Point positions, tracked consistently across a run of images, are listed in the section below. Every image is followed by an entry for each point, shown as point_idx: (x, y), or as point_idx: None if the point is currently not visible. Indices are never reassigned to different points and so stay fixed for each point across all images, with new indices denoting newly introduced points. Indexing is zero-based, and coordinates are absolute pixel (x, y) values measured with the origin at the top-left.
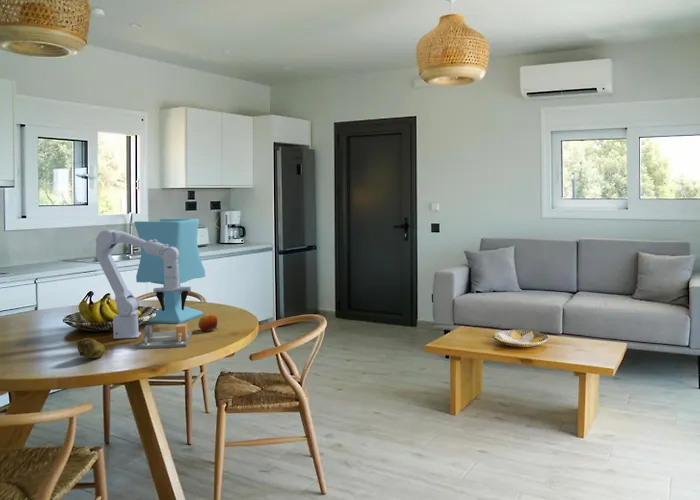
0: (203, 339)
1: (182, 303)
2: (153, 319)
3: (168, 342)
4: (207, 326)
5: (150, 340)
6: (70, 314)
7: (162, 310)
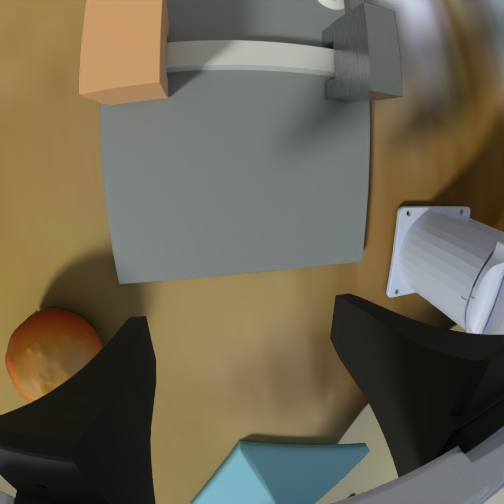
0: (33, 126)
1: (115, 353)
2: (338, 451)
3: (214, 2)
4: (42, 313)
5: (325, 34)
6: None
7: (350, 295)
